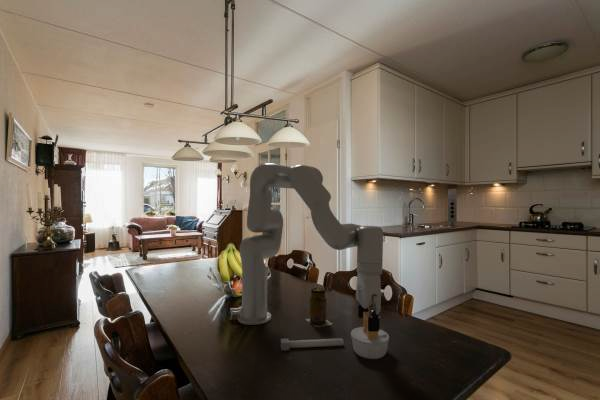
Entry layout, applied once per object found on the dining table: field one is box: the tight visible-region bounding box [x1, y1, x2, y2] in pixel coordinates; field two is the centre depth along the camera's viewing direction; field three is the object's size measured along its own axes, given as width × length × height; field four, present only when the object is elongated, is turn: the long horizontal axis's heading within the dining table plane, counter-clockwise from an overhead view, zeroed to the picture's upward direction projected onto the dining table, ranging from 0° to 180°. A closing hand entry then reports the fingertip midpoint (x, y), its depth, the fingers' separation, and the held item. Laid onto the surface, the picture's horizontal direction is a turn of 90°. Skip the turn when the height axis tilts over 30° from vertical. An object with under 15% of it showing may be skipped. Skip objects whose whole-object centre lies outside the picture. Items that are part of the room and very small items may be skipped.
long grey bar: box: [280, 338, 345, 351], centre depth 93 cm, size 20×3×2 cm, turn 96°
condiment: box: [304, 287, 333, 328], centre depth 112 cm, size 7×8×12 cm
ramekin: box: [350, 326, 390, 360], centre depth 90 cm, size 11×11×5 cm
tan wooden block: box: [362, 312, 378, 338], centre depth 90 cm, size 3×5×6 cm, turn 5°
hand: (368, 323), depth 91 cm, fingers open, 9 cm apart
